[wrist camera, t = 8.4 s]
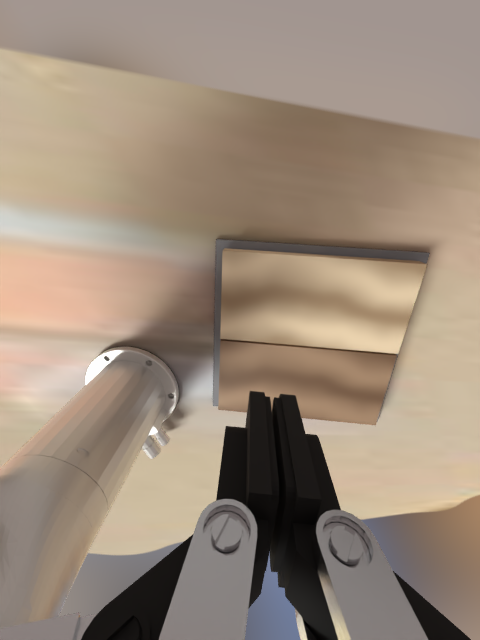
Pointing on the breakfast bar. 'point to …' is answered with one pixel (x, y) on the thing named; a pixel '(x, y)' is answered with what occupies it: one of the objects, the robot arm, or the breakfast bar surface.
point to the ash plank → (318, 299)
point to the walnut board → (306, 379)
